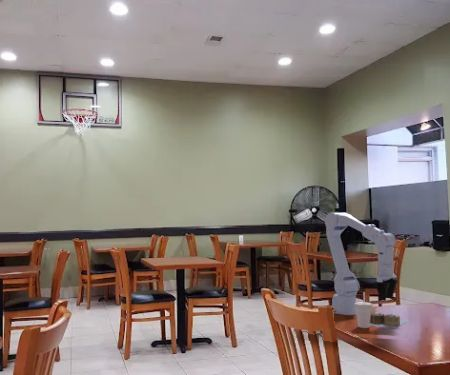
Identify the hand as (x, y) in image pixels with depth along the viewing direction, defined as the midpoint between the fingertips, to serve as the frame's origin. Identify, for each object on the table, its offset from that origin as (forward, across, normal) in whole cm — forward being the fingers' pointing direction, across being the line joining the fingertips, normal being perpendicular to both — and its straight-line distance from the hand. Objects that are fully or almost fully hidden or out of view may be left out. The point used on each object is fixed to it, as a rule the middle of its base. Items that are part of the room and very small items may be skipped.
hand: (386, 298), depth 188 cm
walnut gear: (+9, -4, +2) cm, 10 cm away
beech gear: (+8, -4, -3) cm, 10 cm away
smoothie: (+10, -14, +3) cm, 18 cm away
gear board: (+10, -1, 0) cm, 10 cm away
